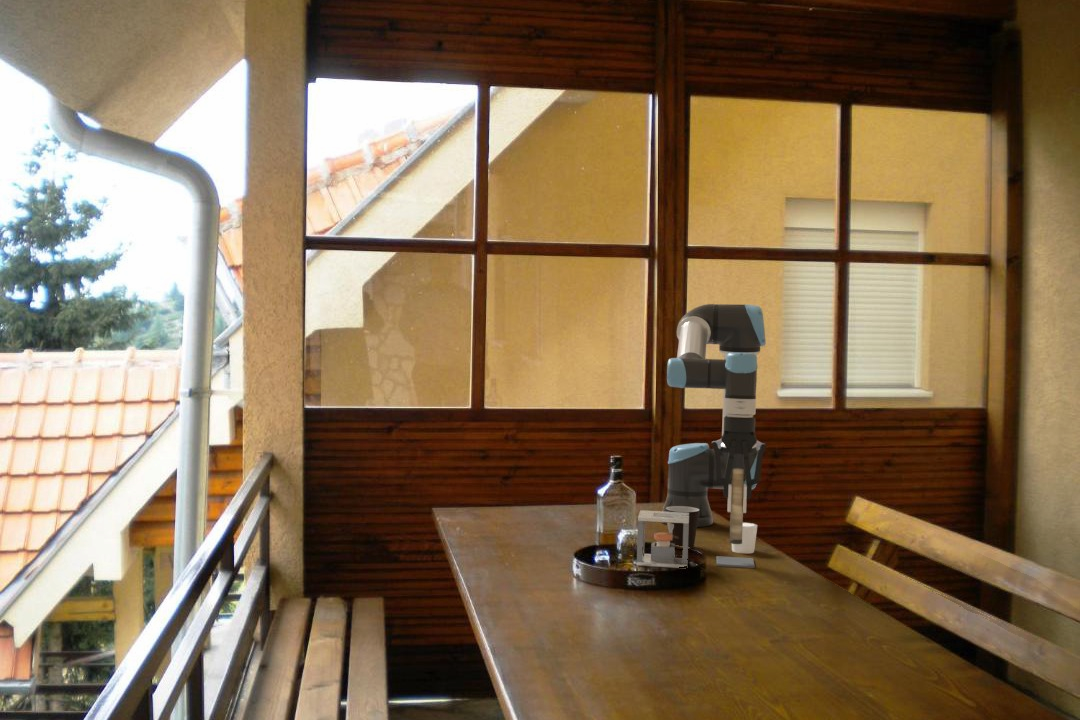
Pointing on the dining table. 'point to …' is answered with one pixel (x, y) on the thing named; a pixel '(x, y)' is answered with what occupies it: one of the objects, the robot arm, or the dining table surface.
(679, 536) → the coffee mug
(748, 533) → the white tapered cup
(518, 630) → the dining table surface
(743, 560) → the coaster
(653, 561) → the frame
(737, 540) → the dowel
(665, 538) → the button
